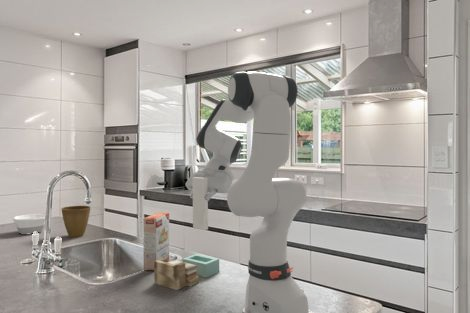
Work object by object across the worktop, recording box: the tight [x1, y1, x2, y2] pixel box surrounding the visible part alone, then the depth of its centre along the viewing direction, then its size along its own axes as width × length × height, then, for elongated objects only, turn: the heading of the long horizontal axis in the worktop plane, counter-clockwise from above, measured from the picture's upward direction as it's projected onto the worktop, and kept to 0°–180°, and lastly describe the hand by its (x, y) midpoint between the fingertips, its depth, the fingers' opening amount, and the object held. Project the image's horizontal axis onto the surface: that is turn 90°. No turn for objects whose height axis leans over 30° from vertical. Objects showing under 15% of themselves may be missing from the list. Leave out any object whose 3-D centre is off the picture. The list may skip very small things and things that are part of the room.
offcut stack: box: [167, 259, 200, 287], centre depth 135 cm, size 14×5×6 cm, turn 54°
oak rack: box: [153, 258, 187, 291], centre depth 131 cm, size 11×4×8 cm, turn 54°
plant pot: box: [61, 205, 91, 238], centre depth 205 cm, size 15×15×16 cm
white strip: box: [192, 177, 209, 231], centre depth 144 cm, size 6×2×20 cm, turn 54°
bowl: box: [12, 213, 46, 235], centre depth 216 cm, size 18×18×9 cm
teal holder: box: [182, 253, 220, 278], centre depth 145 cm, size 12×8×5 cm, turn 54°
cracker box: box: [143, 212, 170, 271], centre depth 153 cm, size 14×6×21 cm, turn 168°
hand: (199, 198), depth 143 cm, fingers closed on white strip, 6 cm apart
